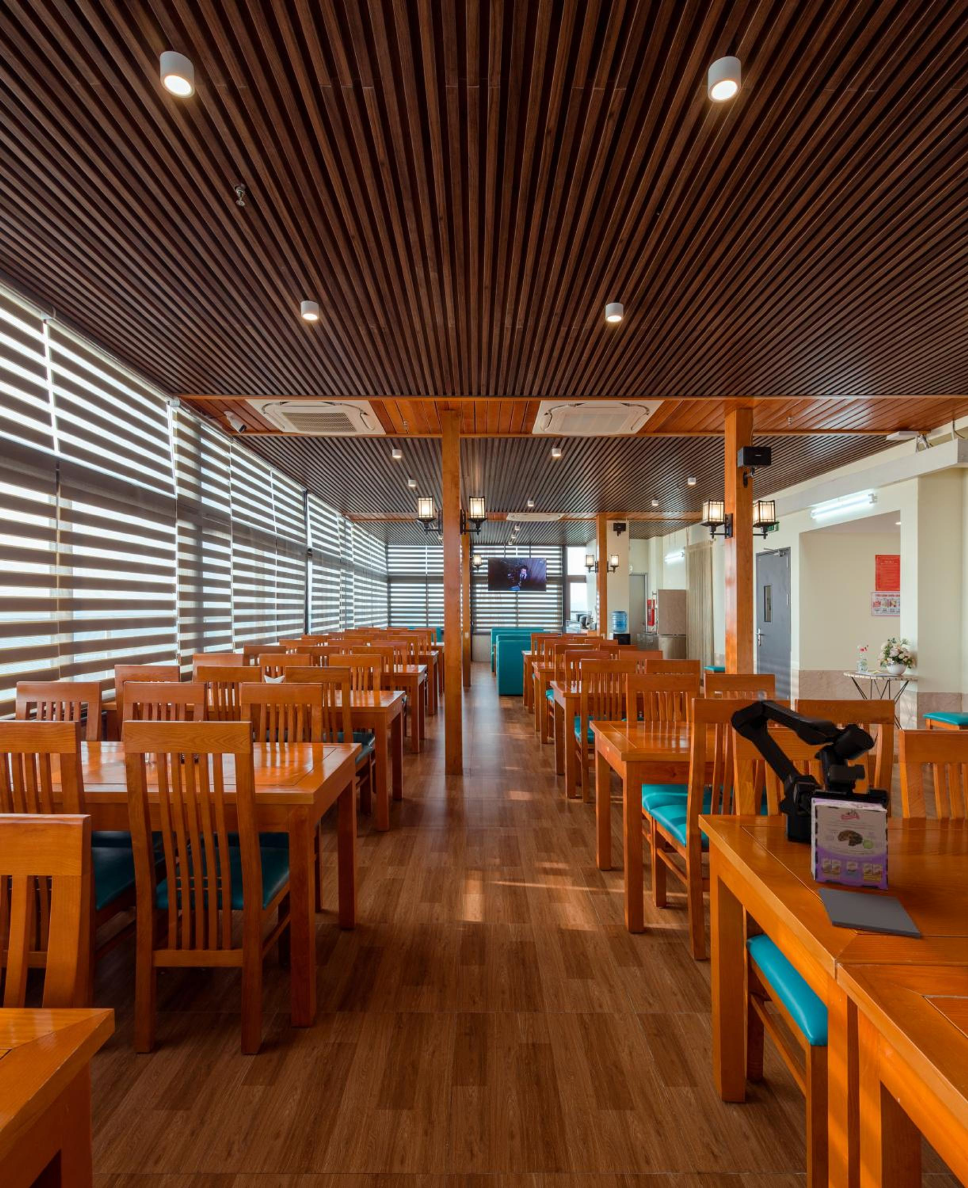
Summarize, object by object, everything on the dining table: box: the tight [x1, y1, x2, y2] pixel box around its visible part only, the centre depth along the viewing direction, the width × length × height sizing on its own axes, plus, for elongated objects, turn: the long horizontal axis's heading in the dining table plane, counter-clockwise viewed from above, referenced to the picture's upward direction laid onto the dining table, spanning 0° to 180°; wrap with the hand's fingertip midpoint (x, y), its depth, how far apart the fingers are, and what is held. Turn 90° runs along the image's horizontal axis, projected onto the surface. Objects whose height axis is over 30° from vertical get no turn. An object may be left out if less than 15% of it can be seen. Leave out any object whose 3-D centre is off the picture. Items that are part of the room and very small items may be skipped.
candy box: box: [810, 798, 889, 891], centre depth 142 cm, size 14×6×16 cm, turn 71°
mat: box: [817, 887, 921, 938], centre depth 128 cm, size 14×15×1 cm
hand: (845, 831), depth 146 cm, fingers open, 9 cm apart
